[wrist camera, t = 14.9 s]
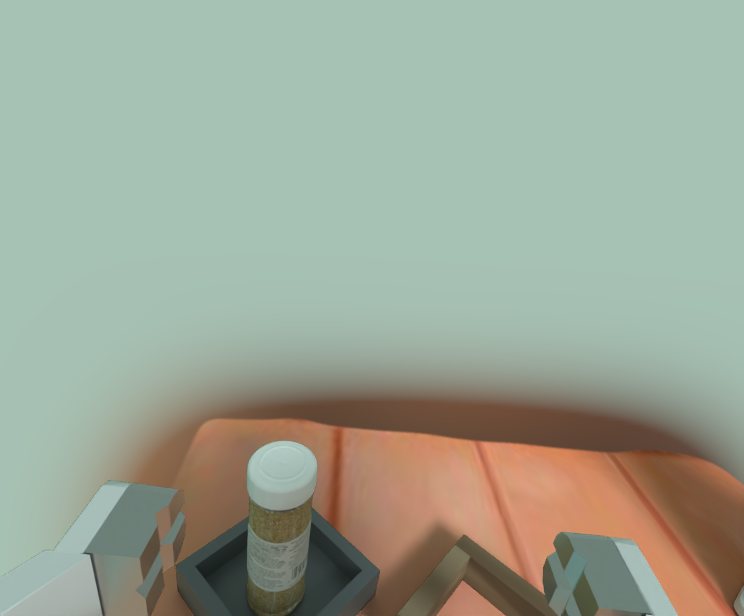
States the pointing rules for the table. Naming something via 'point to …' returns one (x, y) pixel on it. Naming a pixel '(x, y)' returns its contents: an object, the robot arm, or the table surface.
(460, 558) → the socket block
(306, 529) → the sprinkles bottle
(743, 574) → the table surface
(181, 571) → the tray
